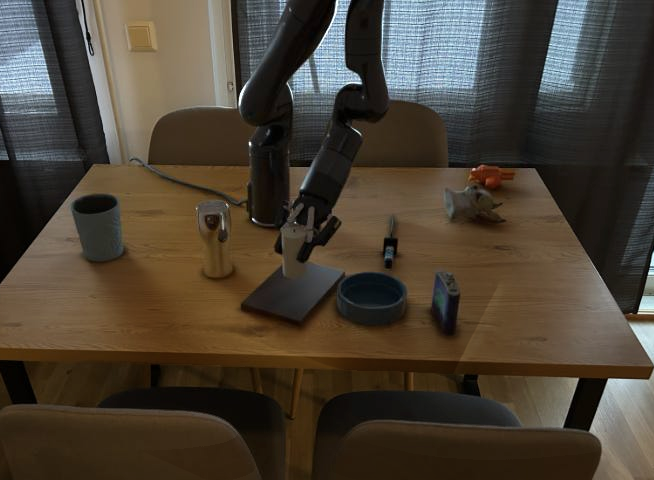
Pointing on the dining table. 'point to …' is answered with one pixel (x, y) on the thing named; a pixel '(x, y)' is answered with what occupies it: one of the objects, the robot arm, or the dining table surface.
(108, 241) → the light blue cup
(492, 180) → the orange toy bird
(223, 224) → the beer glass
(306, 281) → the cutting board
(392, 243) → the knife
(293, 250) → the candle
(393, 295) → the bowl
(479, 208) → the ceramic sculpture
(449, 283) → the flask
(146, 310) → the dining table surface
